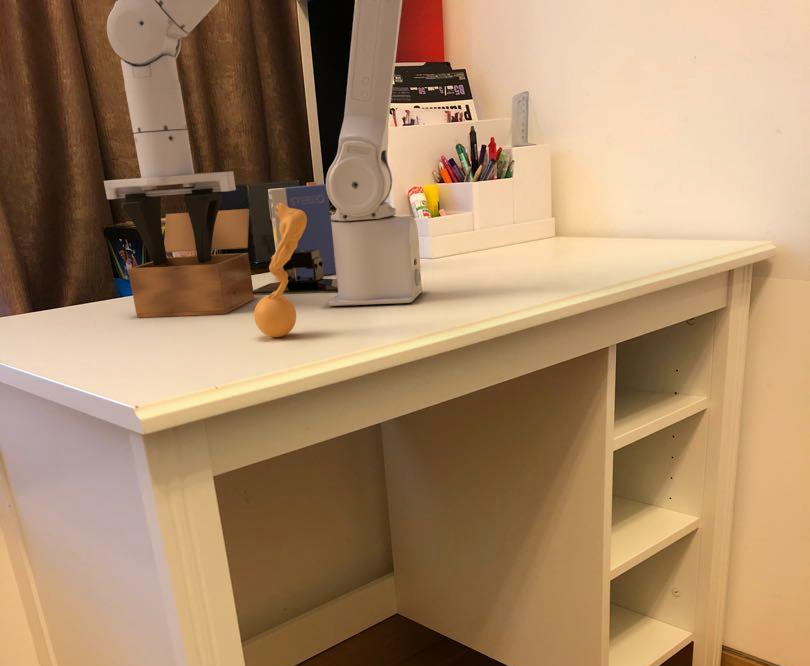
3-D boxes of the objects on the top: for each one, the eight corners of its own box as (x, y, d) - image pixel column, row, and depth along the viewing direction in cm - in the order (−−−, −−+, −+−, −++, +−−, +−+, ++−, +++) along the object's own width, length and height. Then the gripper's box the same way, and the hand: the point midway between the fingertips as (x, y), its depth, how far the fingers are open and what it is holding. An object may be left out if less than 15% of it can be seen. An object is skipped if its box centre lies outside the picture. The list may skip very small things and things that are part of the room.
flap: (165, 214, 107) (167, 215, 107) (163, 251, 107) (164, 252, 107) (248, 208, 105) (249, 209, 105) (246, 247, 105) (247, 248, 105)
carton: (137, 317, 101) (127, 269, 98) (172, 302, 109) (164, 257, 107) (225, 314, 98) (217, 264, 96) (254, 298, 107) (248, 252, 105)
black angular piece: (359, 283, 114) (356, 245, 112) (343, 293, 107) (339, 253, 105) (270, 285, 117) (266, 248, 115) (249, 295, 110) (244, 256, 108)
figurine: (266, 329, 88) (249, 202, 83) (325, 325, 88) (311, 198, 83) (248, 347, 81) (228, 209, 76) (313, 343, 80) (297, 204, 75)
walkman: (330, 271, 125) (321, 181, 120) (336, 273, 123) (327, 181, 118) (277, 278, 123) (265, 186, 118) (281, 280, 120) (270, 187, 115)
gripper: (80, 137, 92) (107, 271, 98) (209, 126, 89) (229, 264, 95) (112, 136, 98) (136, 262, 104) (234, 126, 96) (251, 256, 101)
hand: (182, 263), depth 100 cm, fingers open, 5 cm apart
